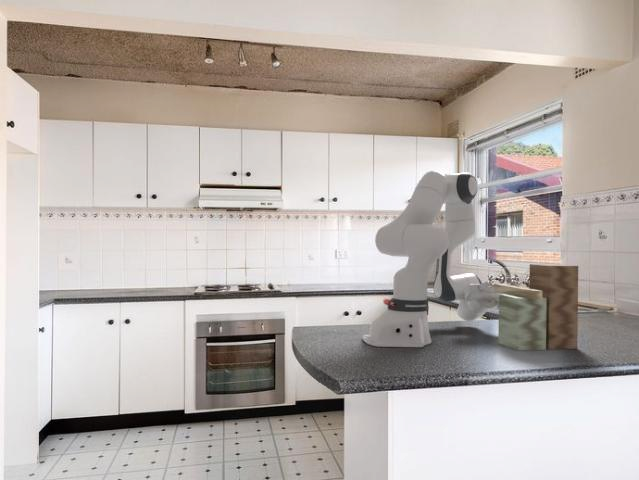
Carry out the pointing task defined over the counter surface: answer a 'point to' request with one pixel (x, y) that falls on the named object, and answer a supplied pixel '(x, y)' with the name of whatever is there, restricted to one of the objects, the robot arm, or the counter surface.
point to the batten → (518, 291)
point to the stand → (542, 311)
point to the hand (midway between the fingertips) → (502, 282)
